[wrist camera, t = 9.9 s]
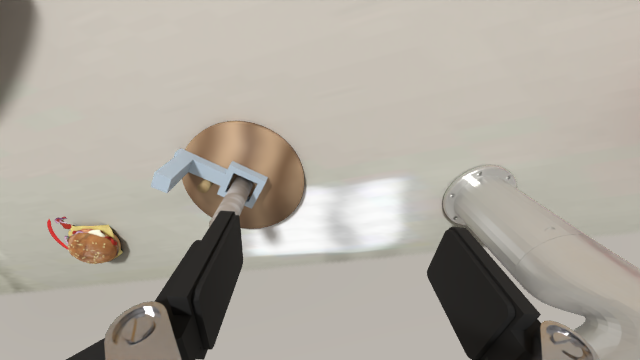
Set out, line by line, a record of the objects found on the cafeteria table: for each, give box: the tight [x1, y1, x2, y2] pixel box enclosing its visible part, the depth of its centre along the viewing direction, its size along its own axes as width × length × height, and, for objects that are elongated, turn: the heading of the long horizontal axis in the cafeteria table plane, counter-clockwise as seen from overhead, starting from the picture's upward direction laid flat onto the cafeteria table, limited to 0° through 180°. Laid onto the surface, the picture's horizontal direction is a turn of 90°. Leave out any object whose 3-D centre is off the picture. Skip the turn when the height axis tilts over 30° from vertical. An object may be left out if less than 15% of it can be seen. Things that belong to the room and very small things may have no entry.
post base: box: [182, 121, 304, 229], centre depth 34 cm, size 20×20×12 cm
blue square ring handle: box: [151, 148, 268, 209], centre depth 34 cm, size 14×6×8 cm, turn 60°
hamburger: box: [47, 217, 123, 264], centre depth 42 cm, size 14×14×6 cm
